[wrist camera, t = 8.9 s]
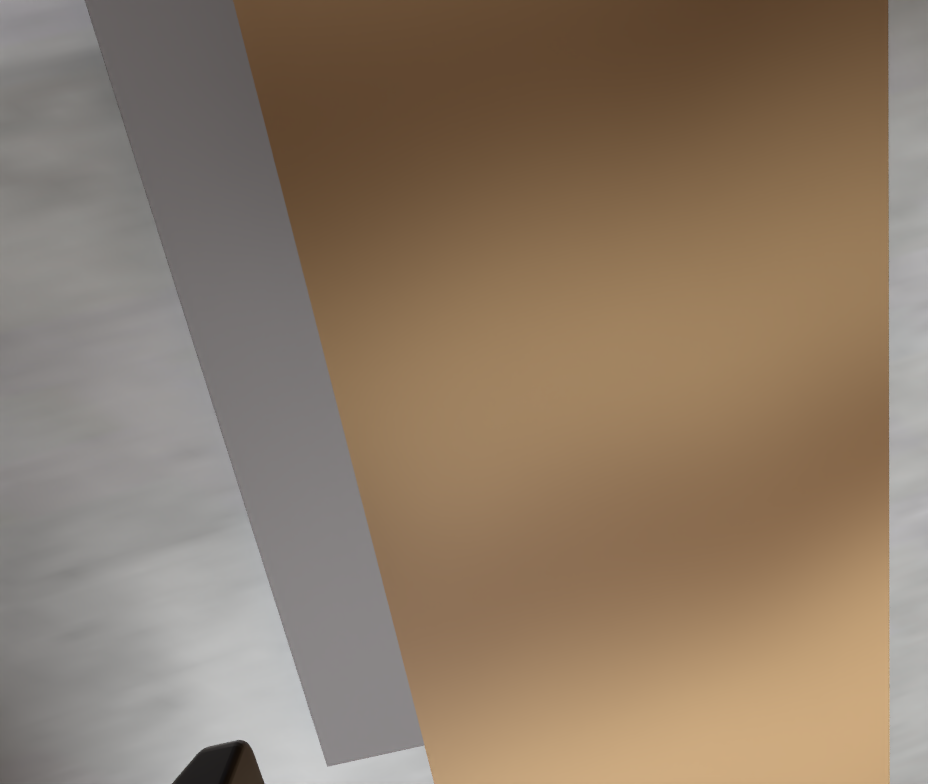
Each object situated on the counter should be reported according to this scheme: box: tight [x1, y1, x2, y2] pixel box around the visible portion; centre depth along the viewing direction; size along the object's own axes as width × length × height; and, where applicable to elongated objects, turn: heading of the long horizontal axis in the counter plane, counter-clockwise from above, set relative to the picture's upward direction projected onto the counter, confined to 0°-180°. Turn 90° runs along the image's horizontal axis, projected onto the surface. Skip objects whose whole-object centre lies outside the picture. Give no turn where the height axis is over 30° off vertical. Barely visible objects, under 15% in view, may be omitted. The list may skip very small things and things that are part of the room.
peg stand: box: [85, 0, 424, 767], centre depth 16 cm, size 20×14×5 cm
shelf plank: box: [233, 0, 890, 784], centre depth 12 cm, size 16×6×5 cm, turn 10°
